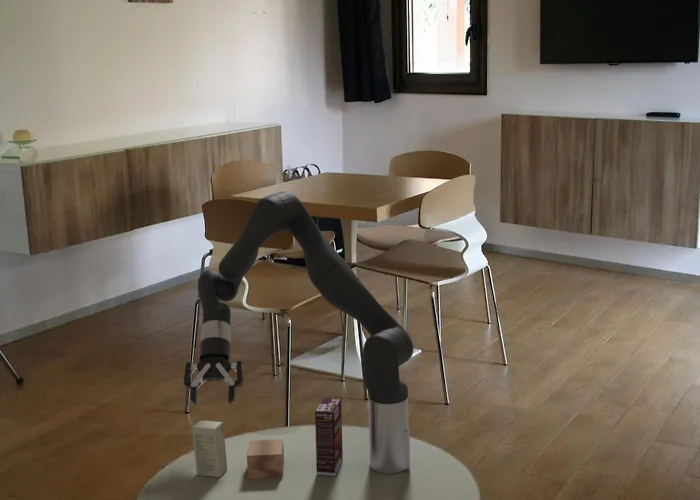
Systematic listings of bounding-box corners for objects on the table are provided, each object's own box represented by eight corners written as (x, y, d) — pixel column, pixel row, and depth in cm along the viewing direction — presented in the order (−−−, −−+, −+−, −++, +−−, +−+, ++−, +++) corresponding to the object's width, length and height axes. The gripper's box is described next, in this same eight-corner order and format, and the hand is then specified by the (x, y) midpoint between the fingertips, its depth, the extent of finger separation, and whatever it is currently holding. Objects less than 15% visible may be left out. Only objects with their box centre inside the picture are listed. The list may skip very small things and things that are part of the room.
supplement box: (336, 476, 202) (334, 412, 199) (316, 475, 203) (313, 411, 200) (344, 460, 210) (342, 398, 207) (324, 458, 211) (322, 397, 208)
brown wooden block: (284, 462, 210) (283, 439, 209) (282, 478, 203) (281, 454, 201) (250, 463, 210) (249, 440, 209) (248, 479, 202) (246, 455, 201)
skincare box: (227, 469, 207) (224, 421, 204) (219, 478, 203) (216, 429, 200) (203, 466, 209) (200, 418, 206) (194, 474, 205) (191, 426, 202)
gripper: (184, 336, 217) (180, 397, 208) (242, 334, 217) (240, 395, 208) (189, 350, 223) (185, 409, 214) (245, 348, 223) (243, 407, 215)
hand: (212, 402), depth 211 cm, fingers open, 8 cm apart
